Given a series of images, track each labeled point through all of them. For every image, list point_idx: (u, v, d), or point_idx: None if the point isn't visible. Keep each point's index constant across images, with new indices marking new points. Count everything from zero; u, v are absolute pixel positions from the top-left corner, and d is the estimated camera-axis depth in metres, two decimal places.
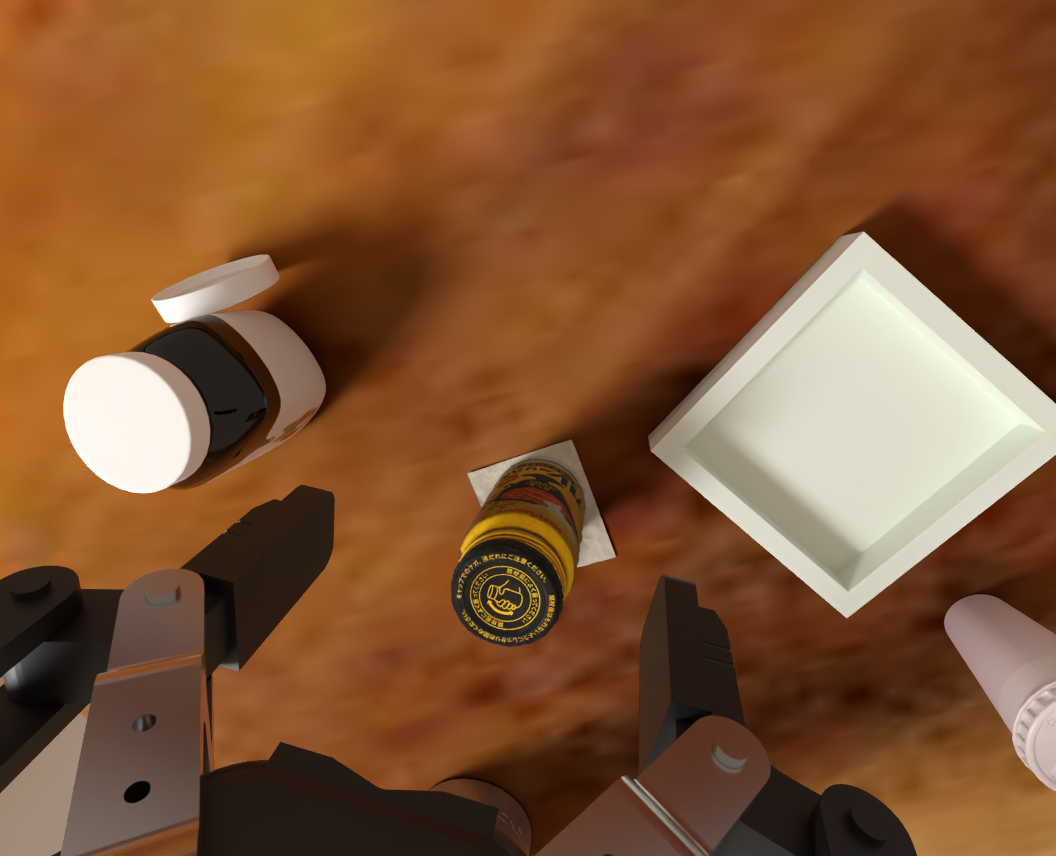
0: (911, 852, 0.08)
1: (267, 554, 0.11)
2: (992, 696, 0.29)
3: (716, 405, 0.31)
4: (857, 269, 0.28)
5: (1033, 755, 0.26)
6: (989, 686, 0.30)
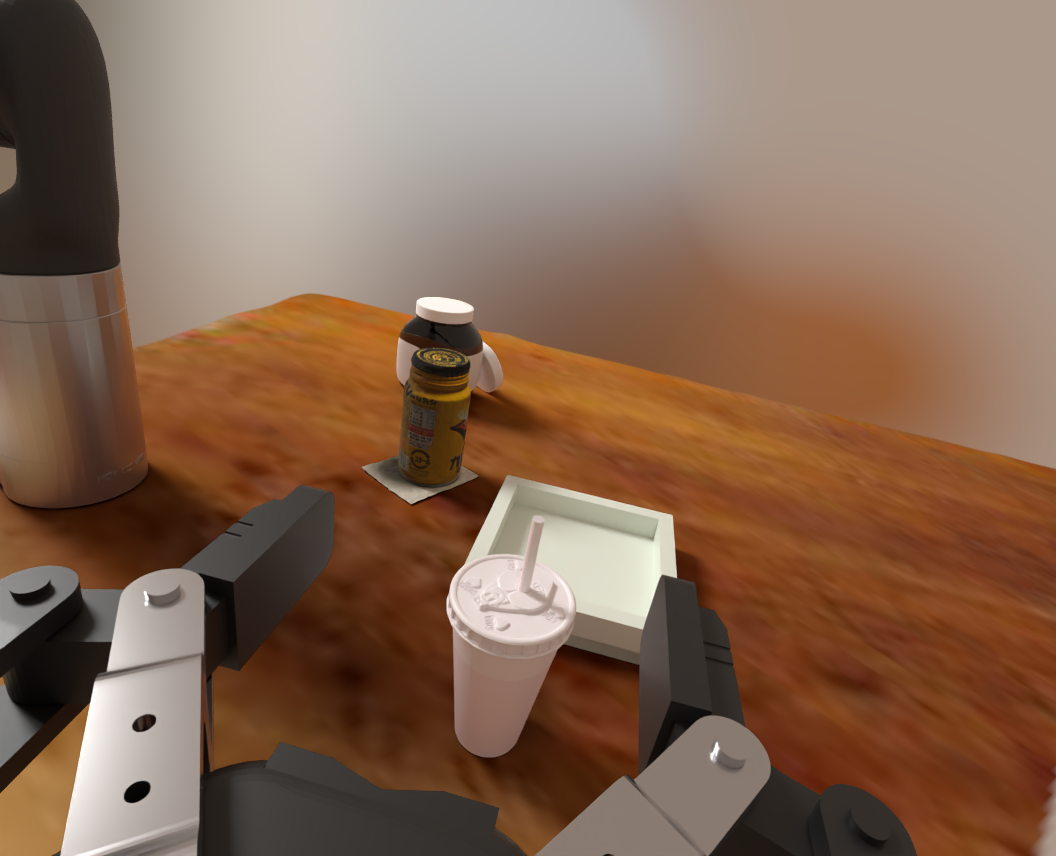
0: (909, 851, 0.08)
1: (267, 554, 0.11)
2: None
3: (551, 490, 0.50)
4: (656, 518, 0.49)
5: (474, 562, 0.30)
6: None
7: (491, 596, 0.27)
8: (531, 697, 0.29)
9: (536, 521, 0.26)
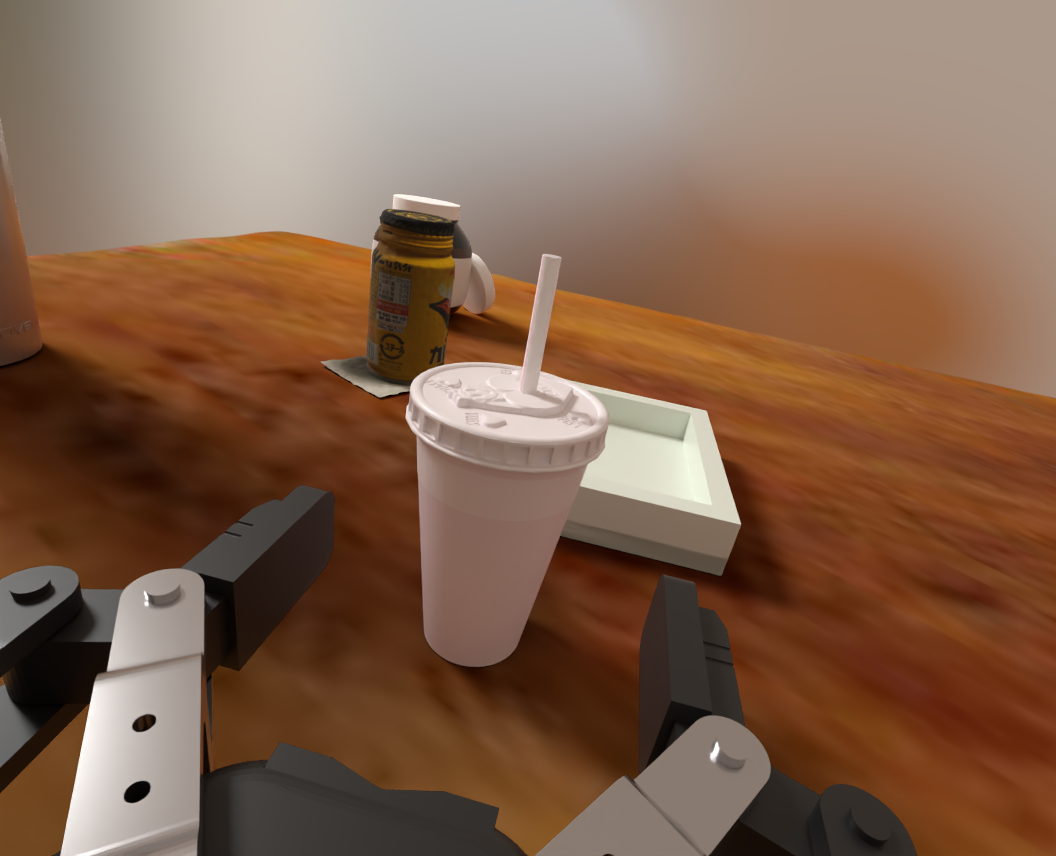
0: (911, 852, 0.08)
1: (267, 553, 0.11)
2: None
3: None
4: (687, 412, 0.39)
5: (452, 365, 0.19)
6: None
7: (476, 392, 0.17)
8: (538, 564, 0.18)
9: (548, 256, 0.16)
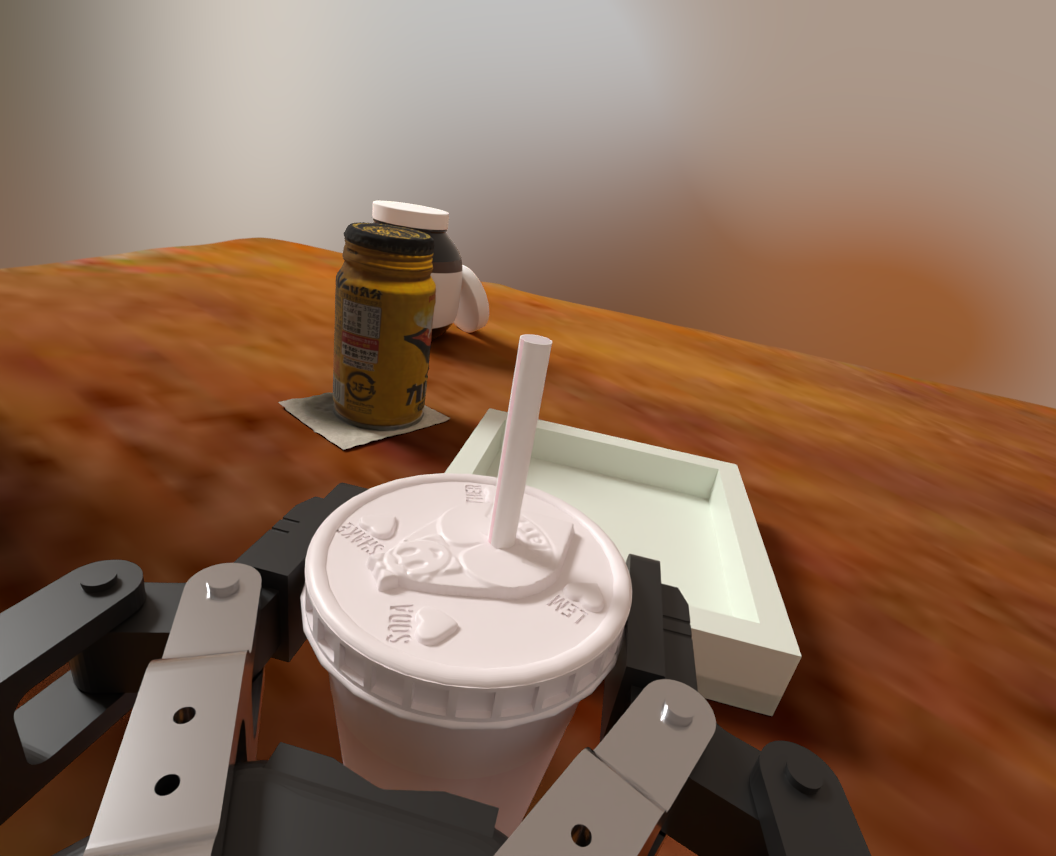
0: (841, 795, 0.08)
1: None
2: None
3: (555, 429, 0.34)
4: (715, 467, 0.32)
5: (390, 485, 0.13)
6: None
7: (415, 555, 0.11)
8: (520, 807, 0.12)
9: (530, 342, 0.10)
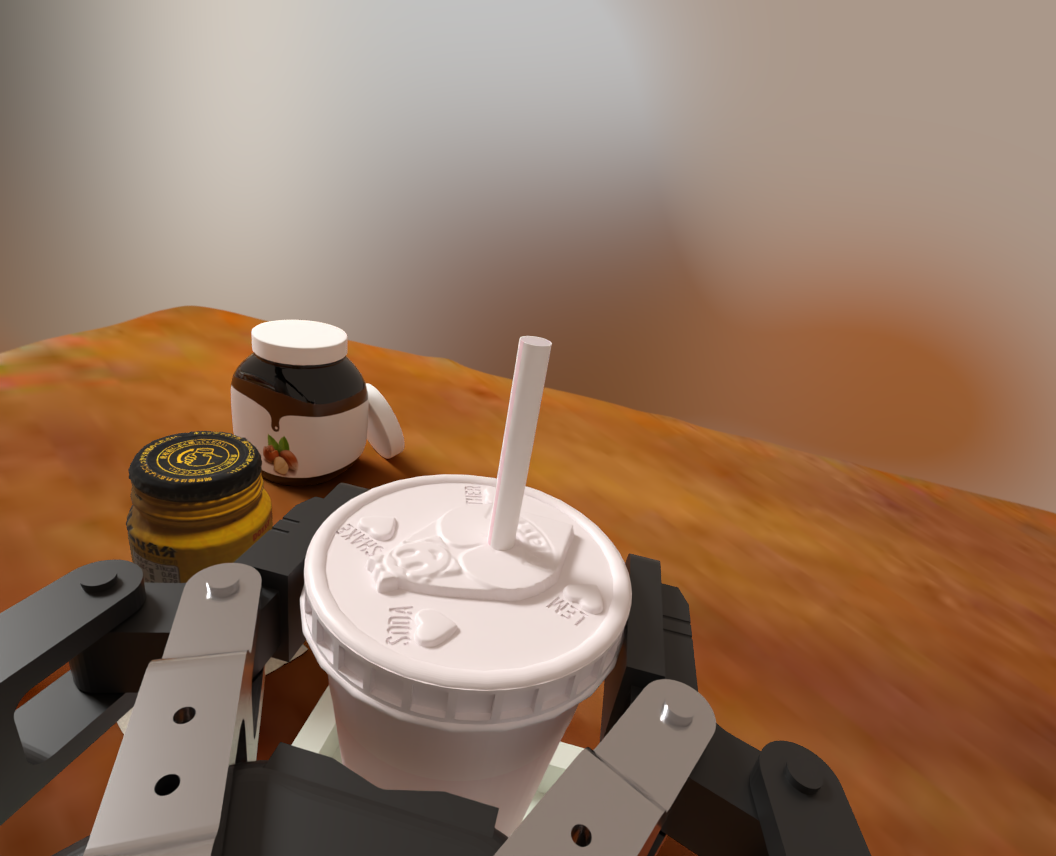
0: (840, 794, 0.08)
1: None
2: None
3: None
4: None
5: (389, 486, 0.13)
6: None
7: (415, 557, 0.11)
8: (520, 808, 0.12)
9: (529, 343, 0.09)
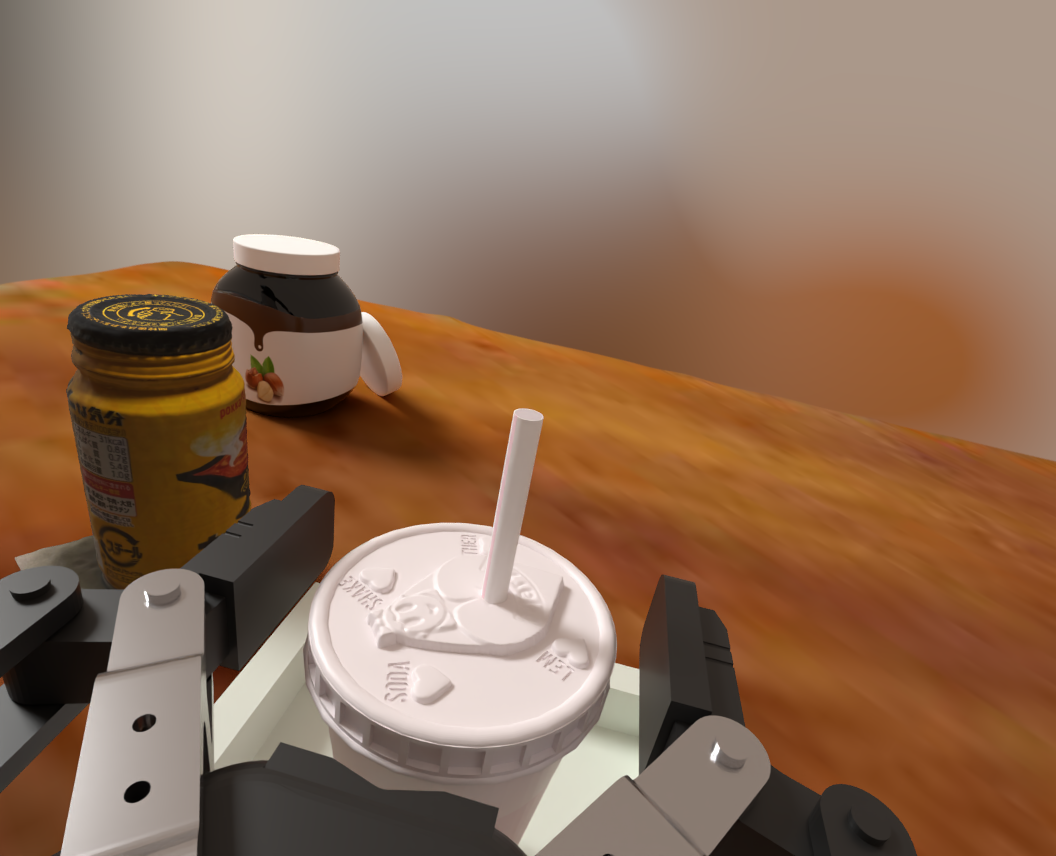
0: (911, 852, 0.08)
1: (267, 554, 0.11)
2: None
3: None
4: None
5: (389, 536, 0.13)
6: None
7: (412, 612, 0.11)
8: None
9: (523, 418, 0.10)
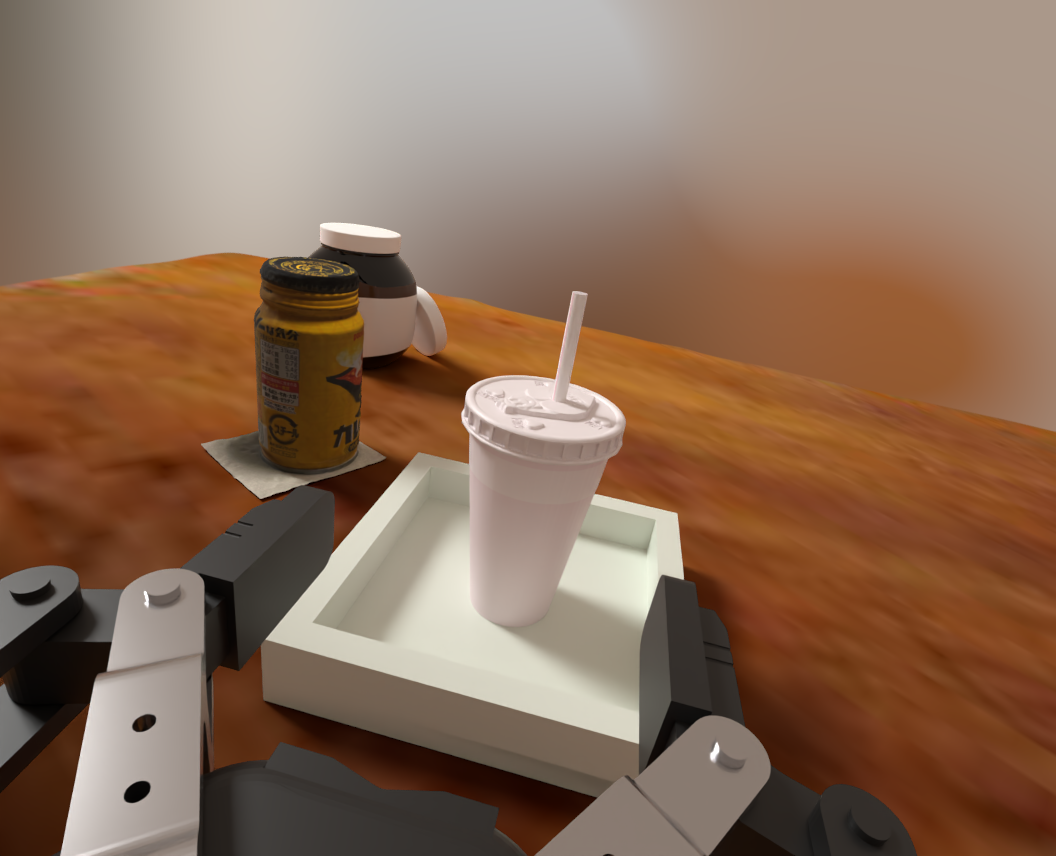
0: (910, 851, 0.08)
1: (267, 554, 0.11)
2: None
3: None
4: (652, 517, 0.31)
5: (495, 378, 0.24)
6: None
7: (519, 401, 0.21)
8: (567, 540, 0.23)
9: (577, 294, 0.20)
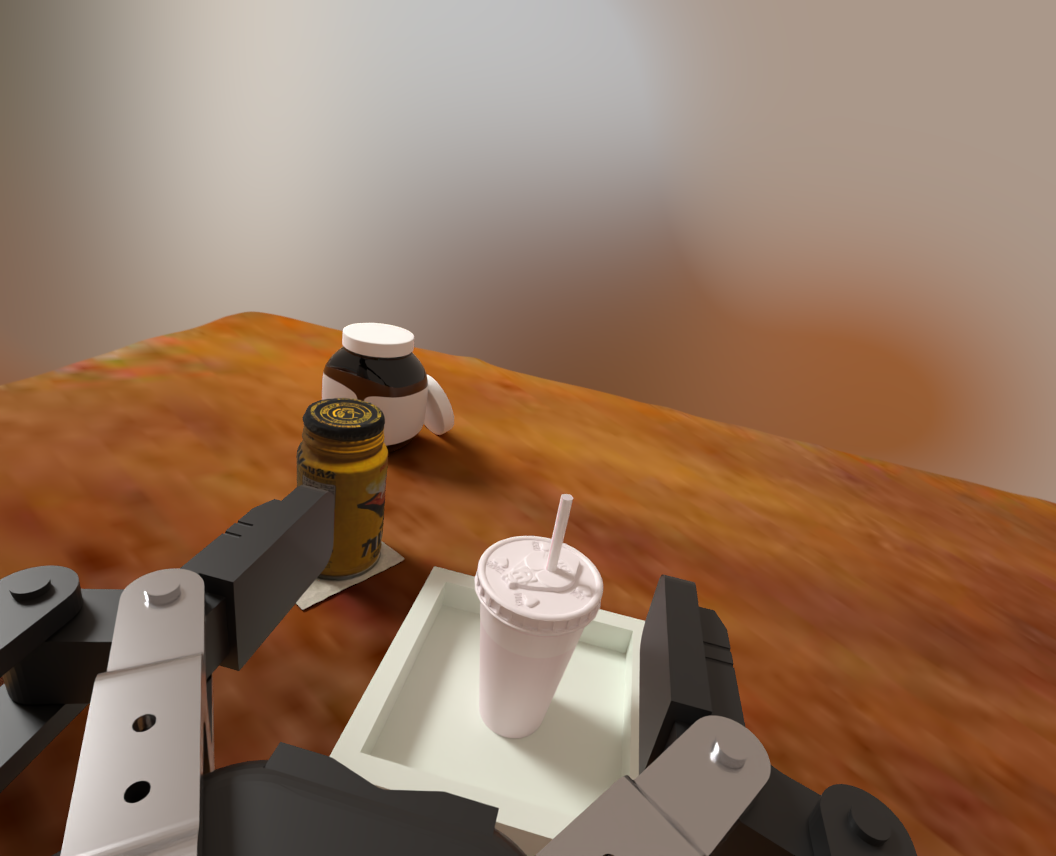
0: (911, 852, 0.08)
1: (267, 554, 0.11)
2: None
3: None
4: (630, 629, 0.37)
5: (501, 543, 0.30)
6: None
7: (519, 575, 0.28)
8: (557, 677, 0.29)
9: (565, 499, 0.26)
